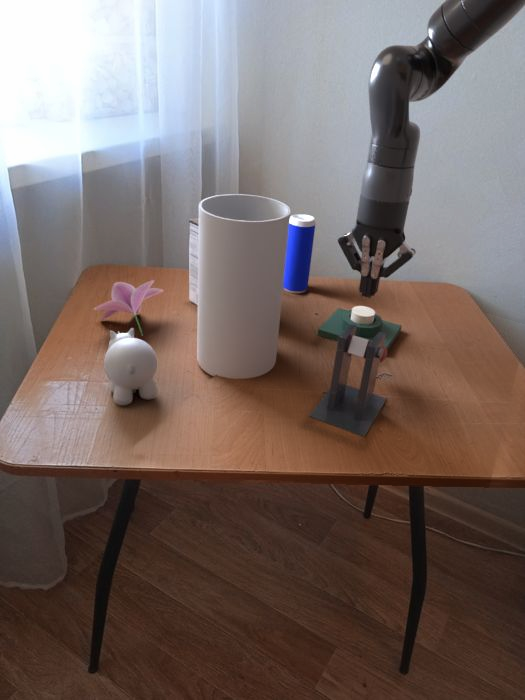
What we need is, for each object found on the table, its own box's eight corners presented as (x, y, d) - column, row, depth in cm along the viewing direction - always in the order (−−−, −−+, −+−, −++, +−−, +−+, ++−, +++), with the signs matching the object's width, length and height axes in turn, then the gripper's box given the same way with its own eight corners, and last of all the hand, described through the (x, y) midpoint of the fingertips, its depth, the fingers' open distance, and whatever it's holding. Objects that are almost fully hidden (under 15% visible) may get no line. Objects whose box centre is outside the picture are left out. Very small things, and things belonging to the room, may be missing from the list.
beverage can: (311, 288, 116) (320, 217, 108) (300, 296, 112) (308, 223, 104) (289, 281, 118) (296, 211, 110) (277, 289, 114) (284, 217, 106)
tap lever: (362, 360, 87) (369, 338, 86) (384, 367, 85) (391, 345, 85) (340, 355, 73) (349, 329, 73) (366, 363, 72) (375, 337, 72)
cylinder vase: (254, 393, 82) (267, 228, 69) (181, 369, 86) (181, 209, 74) (287, 355, 92) (303, 204, 79) (220, 335, 96) (225, 189, 83)
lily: (175, 321, 102) (157, 270, 100) (173, 327, 90) (152, 270, 88) (112, 342, 101) (93, 291, 99) (101, 351, 89) (79, 294, 88)
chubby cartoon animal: (145, 359, 88) (143, 311, 84) (163, 403, 79) (162, 351, 74) (98, 366, 85) (93, 316, 81) (111, 411, 76) (106, 358, 72)
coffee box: (225, 289, 112) (228, 210, 104) (246, 300, 108) (251, 220, 100) (187, 300, 107) (188, 218, 99) (208, 313, 103) (210, 228, 95)
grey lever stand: (334, 387, 85) (346, 312, 78) (385, 405, 82) (402, 328, 76) (308, 422, 77) (319, 342, 71) (363, 442, 74) (380, 361, 68)
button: (376, 318, 98) (378, 309, 97) (369, 327, 95) (371, 318, 94) (354, 312, 99) (356, 303, 98) (347, 321, 96) (348, 312, 95)
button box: (399, 336, 101) (403, 316, 99) (382, 360, 93) (387, 339, 91) (337, 318, 105) (340, 298, 103) (316, 340, 97) (319, 319, 95)
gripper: (336, 190, 85) (322, 294, 94) (422, 207, 81) (399, 314, 89) (352, 181, 91) (338, 279, 100) (433, 196, 86) (411, 298, 95)
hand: (367, 295), depth 95 cm, fingers closed
